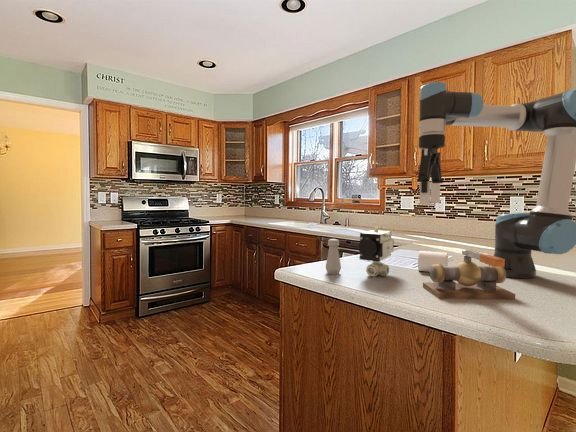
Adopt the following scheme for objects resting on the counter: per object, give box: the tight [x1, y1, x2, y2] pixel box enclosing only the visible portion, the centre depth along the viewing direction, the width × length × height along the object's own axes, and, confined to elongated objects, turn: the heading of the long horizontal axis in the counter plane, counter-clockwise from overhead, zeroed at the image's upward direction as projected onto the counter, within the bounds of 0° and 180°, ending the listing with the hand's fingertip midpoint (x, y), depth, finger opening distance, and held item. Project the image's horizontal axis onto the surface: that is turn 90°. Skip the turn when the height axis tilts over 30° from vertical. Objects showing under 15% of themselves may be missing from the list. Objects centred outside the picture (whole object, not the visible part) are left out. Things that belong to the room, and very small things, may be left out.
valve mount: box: [422, 255, 516, 300], centre depth 104 cm, size 22×12×11 cm, turn 89°
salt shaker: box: [325, 238, 342, 276], centre depth 129 cm, size 6×6×13 cm
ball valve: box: [357, 227, 394, 278], centre depth 127 cm, size 18×8×18 cm, turn 147°
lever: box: [461, 249, 505, 267], centre depth 97 cm, size 18×3×2 cm, turn 179°
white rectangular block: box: [417, 250, 449, 273], centre depth 134 cm, size 12×10×8 cm
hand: (430, 203), depth 108 cm, fingers open, 13 cm apart
